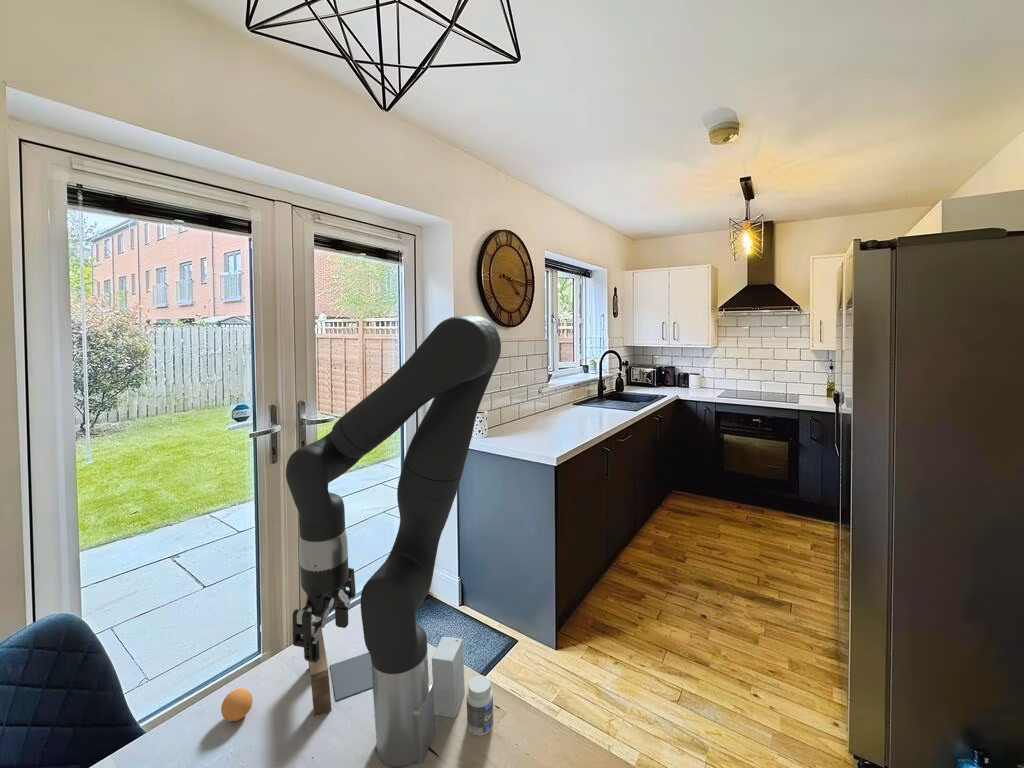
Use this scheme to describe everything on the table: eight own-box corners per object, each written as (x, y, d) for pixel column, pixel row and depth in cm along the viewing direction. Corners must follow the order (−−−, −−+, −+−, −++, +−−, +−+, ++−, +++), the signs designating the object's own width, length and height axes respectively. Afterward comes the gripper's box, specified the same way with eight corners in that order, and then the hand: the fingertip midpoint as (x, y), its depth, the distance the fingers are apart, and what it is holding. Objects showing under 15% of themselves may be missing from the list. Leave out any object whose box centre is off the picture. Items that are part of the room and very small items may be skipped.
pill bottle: (489, 738, 80) (489, 696, 79) (464, 734, 81) (462, 692, 80) (496, 715, 85) (495, 675, 84) (471, 711, 86) (470, 671, 85)
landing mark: (336, 701, 88) (335, 700, 88) (330, 666, 97) (330, 665, 97) (388, 681, 93) (388, 680, 93) (378, 649, 102) (378, 649, 102)
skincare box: (444, 689, 91) (442, 635, 89) (465, 692, 90) (463, 638, 88) (433, 715, 85) (430, 658, 83) (455, 719, 84) (453, 661, 82)
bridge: (314, 716, 85) (310, 675, 84) (309, 667, 97) (305, 630, 96) (331, 710, 86) (328, 669, 85) (324, 662, 98) (321, 625, 97)
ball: (260, 707, 87) (257, 684, 86) (239, 730, 82) (236, 706, 82) (237, 702, 88) (235, 679, 87) (216, 725, 83) (212, 701, 83)
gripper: (317, 584, 70) (322, 678, 72) (366, 539, 83) (368, 619, 86) (274, 577, 71) (280, 669, 74) (329, 533, 85) (333, 612, 88)
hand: (328, 642), depth 80 cm, fingers open, 8 cm apart
